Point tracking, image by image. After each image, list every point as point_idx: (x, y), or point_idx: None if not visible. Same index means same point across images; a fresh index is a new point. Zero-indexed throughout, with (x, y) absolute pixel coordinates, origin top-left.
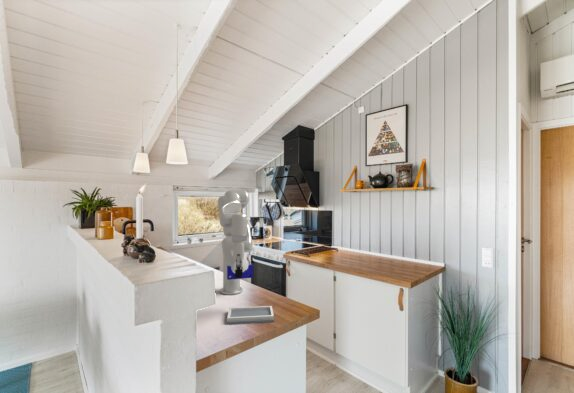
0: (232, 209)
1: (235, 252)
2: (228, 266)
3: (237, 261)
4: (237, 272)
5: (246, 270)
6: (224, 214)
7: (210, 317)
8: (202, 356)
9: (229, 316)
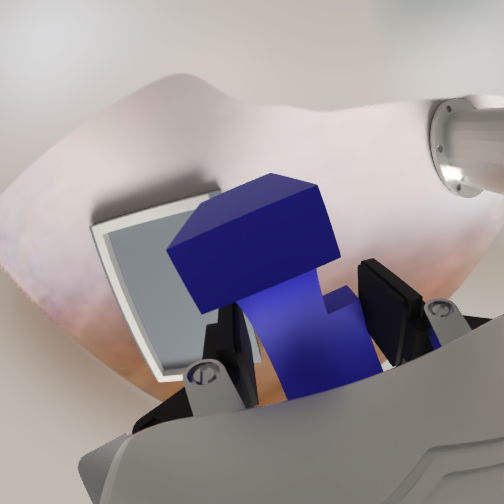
0: None
1: None
2: (225, 249)
3: (95, 500)
4: (207, 355)
5: None
6: None
7: (144, 126)
8: None
9: (107, 231)
